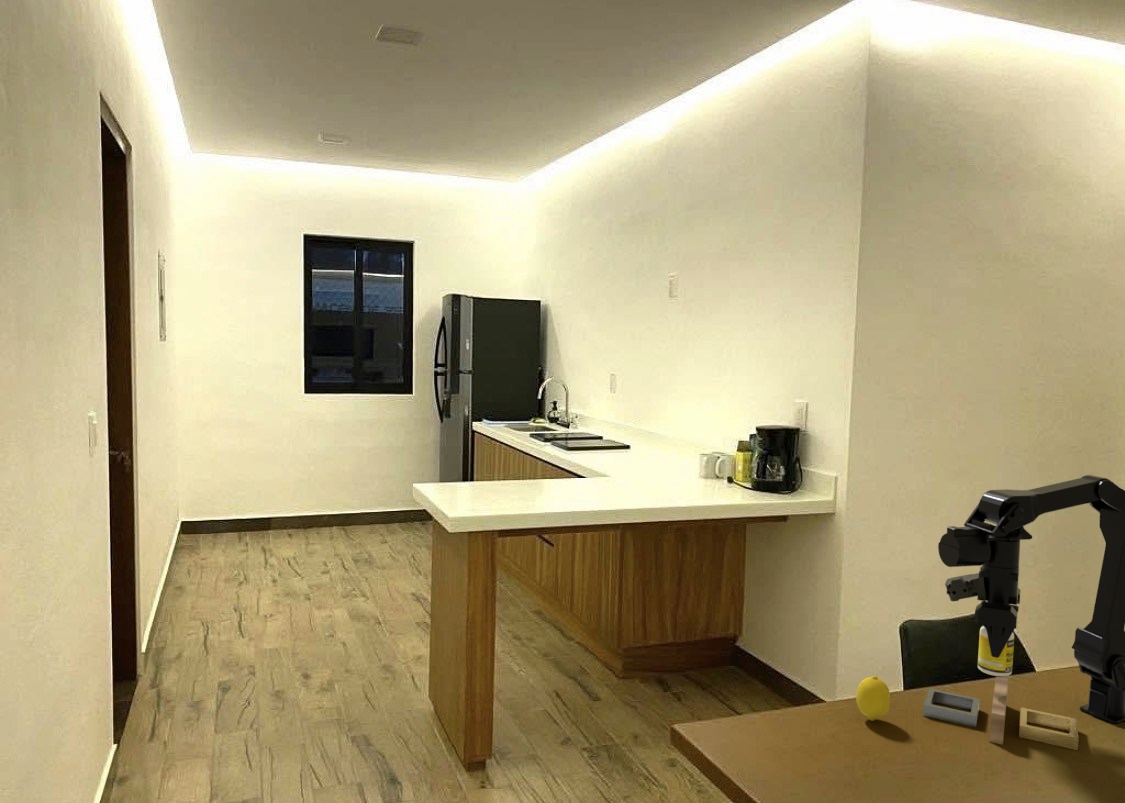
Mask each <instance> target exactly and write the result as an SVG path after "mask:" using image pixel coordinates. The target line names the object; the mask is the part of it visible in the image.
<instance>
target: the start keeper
mask: <svg viewBox="0 0 1125 803" xmlns="http://www.w3.org/2000/svg"><path fill="white" fill-rule="evenodd" d="M980 700H981V699H980V698H978V697H974V696H973V697H972V696H968V695H963V694H958V693H952V692H947V691H945V690H944V691H943V690H939V689H934V688H928V690H927V693H926V697H925V700H924V702H923V709H922V710H923V711H922V712H923V713H922V714H923V715H922V716H923V717H927V718H932V719H937V720H940V721H945V722H950V723H953V724H960V725H963V726H967V727H972V728H977V725H978V717H979V712H980ZM934 703H936V704H934ZM937 704H941V705H945V706H941V705H937ZM946 705H947V706H951V707H955V708H960V709H965V710H970V712H969V711H964V710H960V709H955V708H950V707H946Z"/></svg>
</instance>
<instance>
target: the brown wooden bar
mask: <svg viewBox="0 0 1125 803" xmlns="http://www.w3.org/2000/svg"><path fill="white" fill-rule="evenodd" d="M1008 687H1009V679H1008V678H1005V677H1001V676H995V682H994V690H993V697H992V706H991V715H990V728H989V743H993V744H998V745H1001V746H1003V745H1004V736H1005V728H1006V726H1005V725H1006V713H1007V704H1008V703H1007V701H1008Z"/></svg>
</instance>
